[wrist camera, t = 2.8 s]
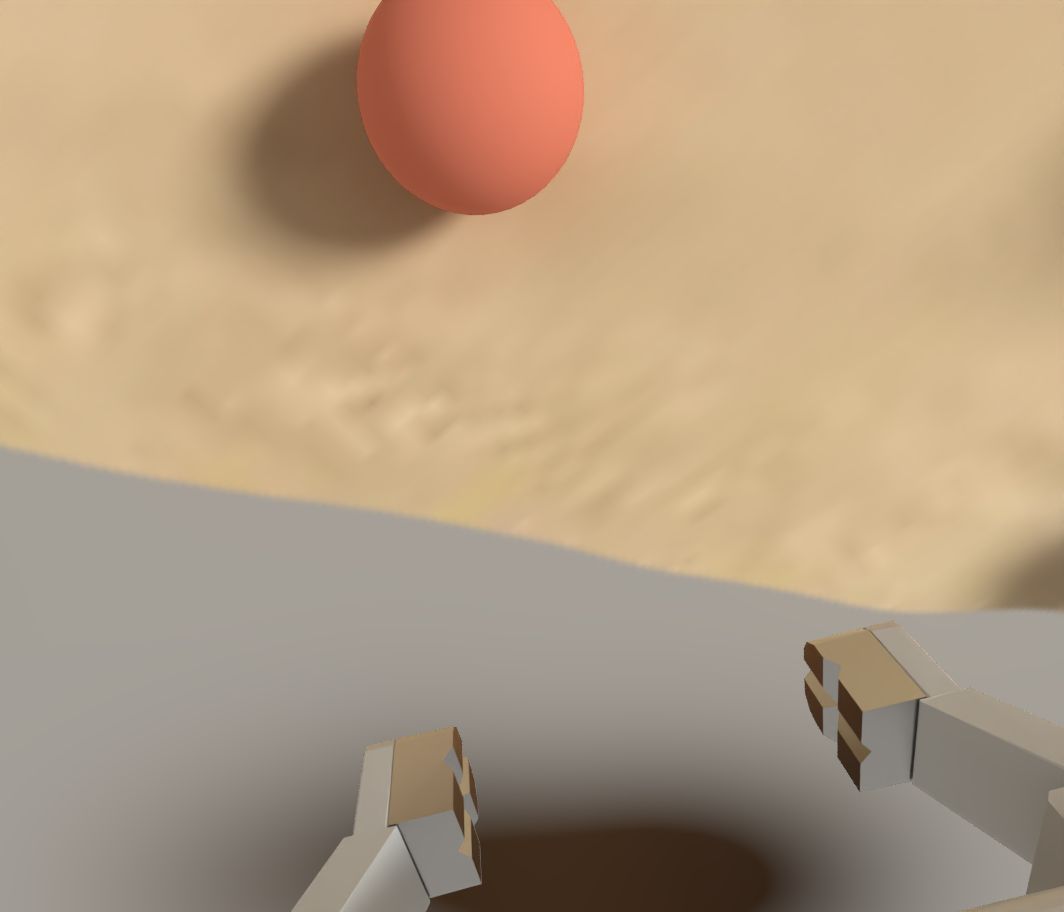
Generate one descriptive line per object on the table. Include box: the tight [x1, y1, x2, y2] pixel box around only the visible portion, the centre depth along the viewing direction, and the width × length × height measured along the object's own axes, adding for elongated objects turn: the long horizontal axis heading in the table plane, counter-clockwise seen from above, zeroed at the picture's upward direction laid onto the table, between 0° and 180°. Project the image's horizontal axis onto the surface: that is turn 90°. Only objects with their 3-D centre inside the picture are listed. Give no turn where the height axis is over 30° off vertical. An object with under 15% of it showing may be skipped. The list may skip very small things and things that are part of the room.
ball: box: [357, 0, 584, 215], centre depth 18 cm, size 6×6×6 cm
